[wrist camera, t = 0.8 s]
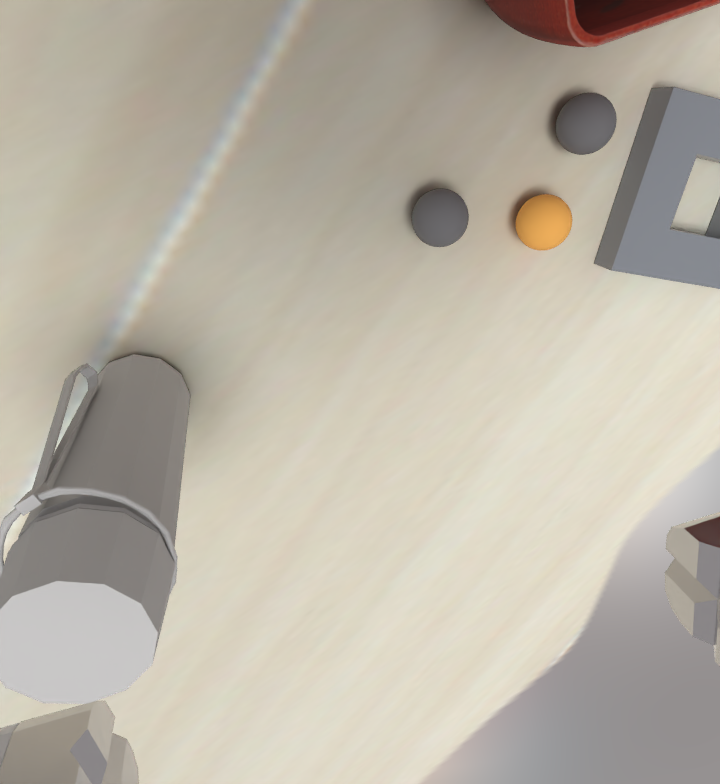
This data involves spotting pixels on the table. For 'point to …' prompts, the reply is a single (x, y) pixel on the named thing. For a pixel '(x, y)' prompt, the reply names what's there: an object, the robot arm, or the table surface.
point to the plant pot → (590, 17)
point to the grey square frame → (665, 193)
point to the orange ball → (543, 222)
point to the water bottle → (96, 538)
